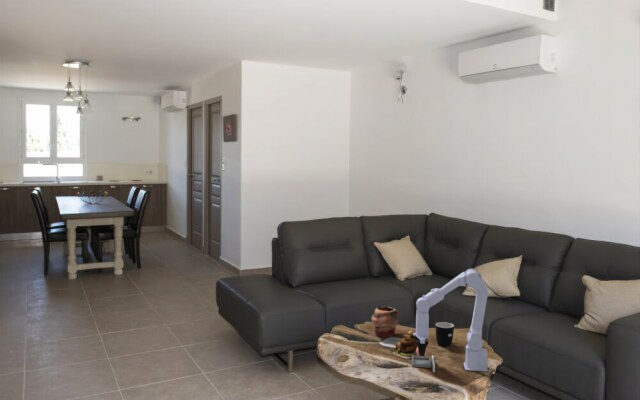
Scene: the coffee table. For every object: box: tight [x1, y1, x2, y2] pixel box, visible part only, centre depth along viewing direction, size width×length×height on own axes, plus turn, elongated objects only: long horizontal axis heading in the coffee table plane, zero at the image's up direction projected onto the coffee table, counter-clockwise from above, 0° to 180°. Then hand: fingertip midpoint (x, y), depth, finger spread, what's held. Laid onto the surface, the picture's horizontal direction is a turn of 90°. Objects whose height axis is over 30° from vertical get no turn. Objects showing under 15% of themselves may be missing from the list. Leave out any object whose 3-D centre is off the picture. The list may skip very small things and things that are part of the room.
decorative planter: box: [371, 306, 400, 338], centre depth 287 cm, size 20×12×14 cm, turn 139°
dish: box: [411, 356, 432, 369], centre depth 248 cm, size 9×9×2 cm
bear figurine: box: [389, 329, 420, 360], centre depth 260 cm, size 14×15×12 cm
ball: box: [416, 347, 428, 357], centre depth 247 cm, size 5×5×5 cm
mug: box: [435, 321, 455, 348], centre depth 273 cm, size 12×9×10 cm
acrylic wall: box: [431, 354, 436, 373], centre depth 244 cm, size 1×12×3 cm, turn 172°
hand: (421, 353), depth 247 cm, fingers closed on ball, 5 cm apart
